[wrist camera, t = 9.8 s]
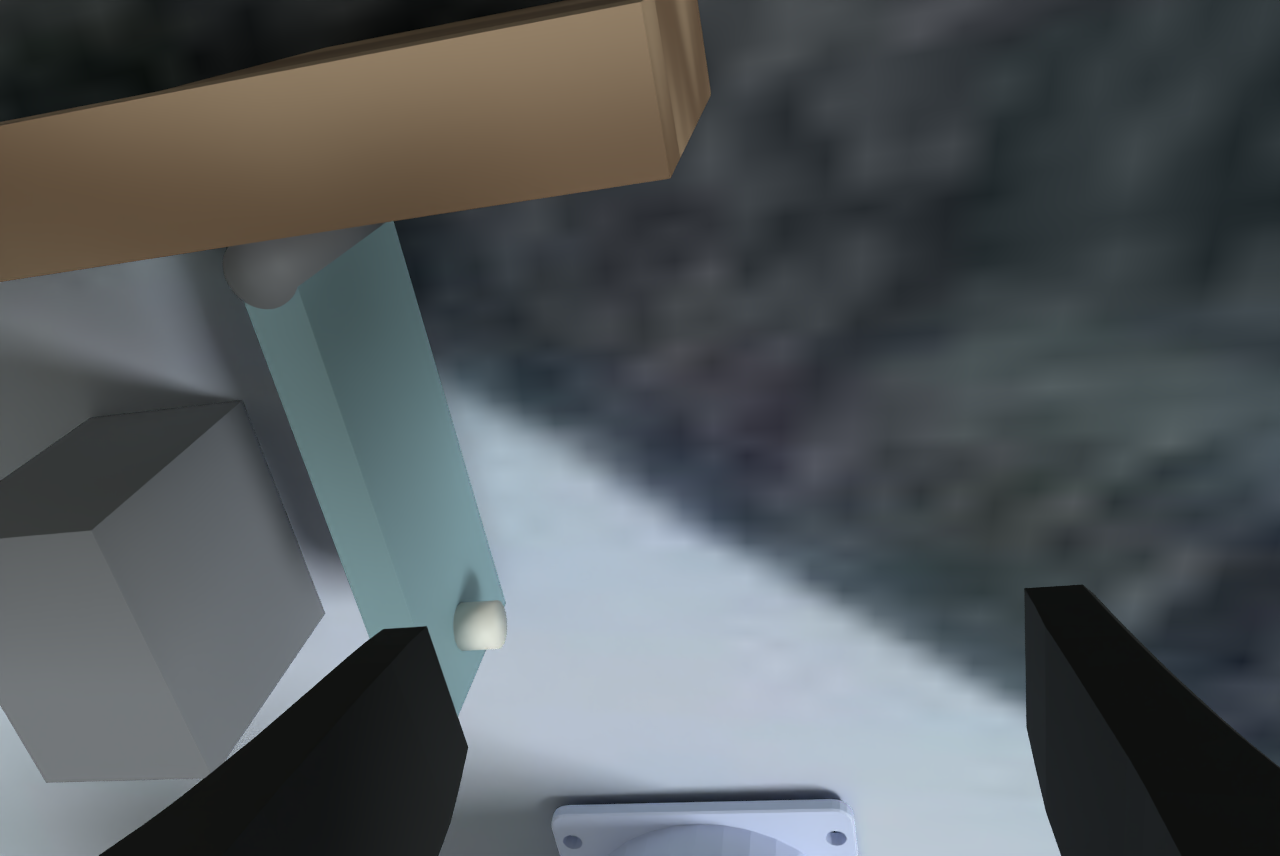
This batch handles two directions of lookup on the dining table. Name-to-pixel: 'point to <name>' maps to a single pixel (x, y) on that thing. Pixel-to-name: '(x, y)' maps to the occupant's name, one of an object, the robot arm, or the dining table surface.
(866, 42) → the dining table surface
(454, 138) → the wooden plank
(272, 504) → the block
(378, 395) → the door
